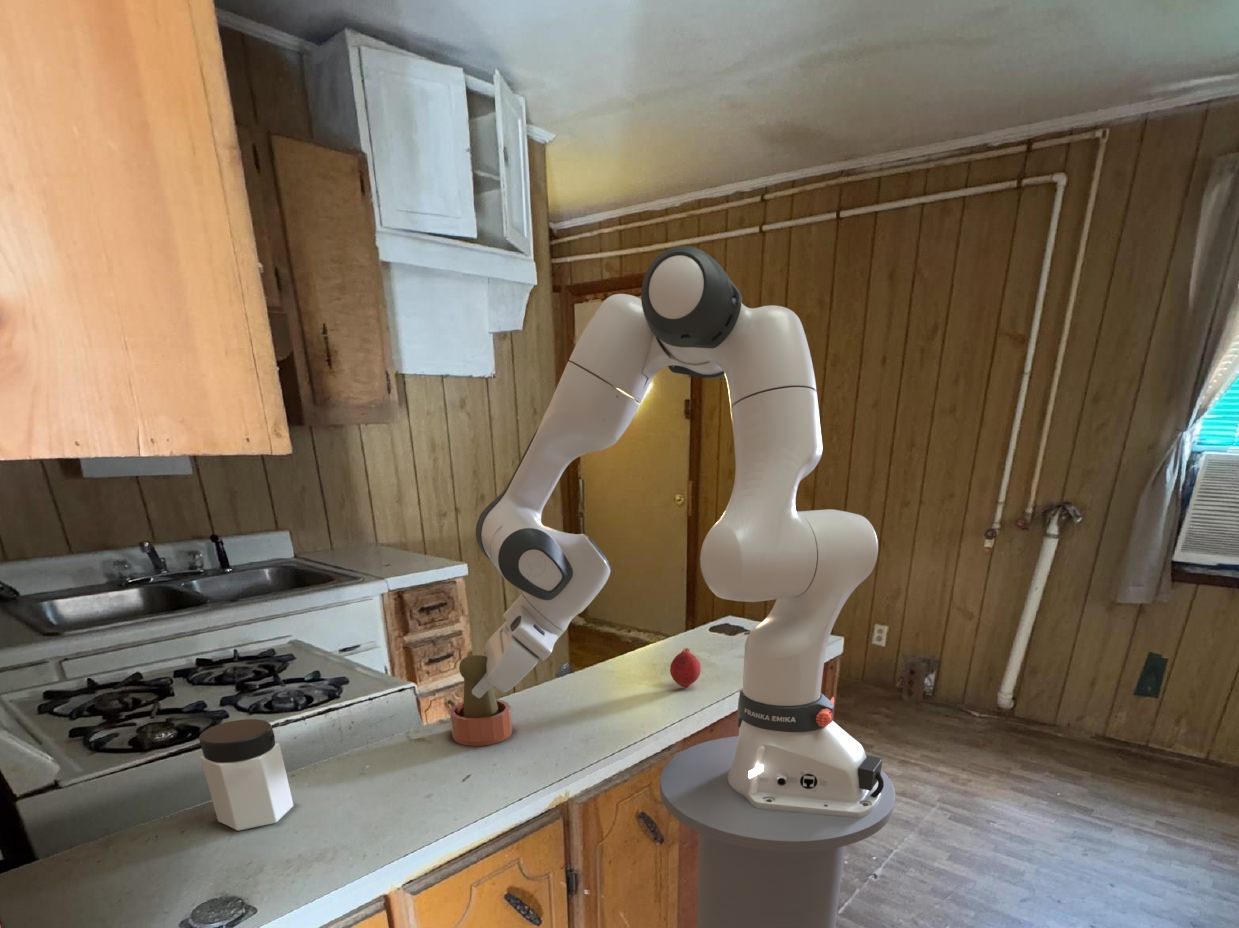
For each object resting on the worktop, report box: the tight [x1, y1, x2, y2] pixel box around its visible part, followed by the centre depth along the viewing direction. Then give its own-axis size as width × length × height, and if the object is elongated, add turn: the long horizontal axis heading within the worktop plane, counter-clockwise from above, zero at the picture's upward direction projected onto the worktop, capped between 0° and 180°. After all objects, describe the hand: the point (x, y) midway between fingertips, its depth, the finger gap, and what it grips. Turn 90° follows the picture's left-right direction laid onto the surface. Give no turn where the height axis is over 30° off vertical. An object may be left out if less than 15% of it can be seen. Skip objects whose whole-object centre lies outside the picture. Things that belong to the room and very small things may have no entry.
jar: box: [198, 718, 294, 832], centre depth 95 cm, size 9×8×12 cm
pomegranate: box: [669, 646, 702, 689], centre depth 141 cm, size 6×6×8 cm
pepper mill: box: [458, 654, 499, 718], centre depth 119 cm, size 6×6×11 cm
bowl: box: [448, 698, 513, 747], centre depth 121 cm, size 10×10×4 cm
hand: (474, 689), depth 119 cm, fingers closed on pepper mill, 4 cm apart
